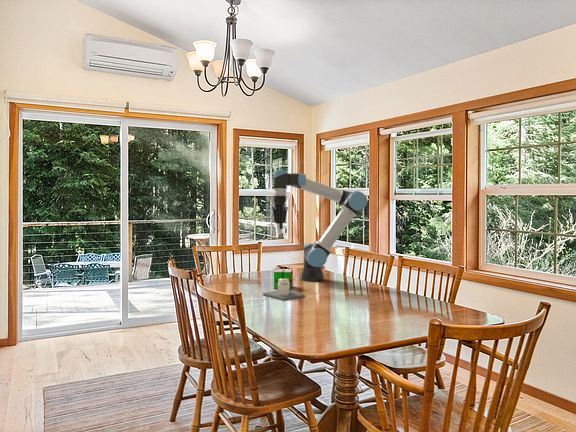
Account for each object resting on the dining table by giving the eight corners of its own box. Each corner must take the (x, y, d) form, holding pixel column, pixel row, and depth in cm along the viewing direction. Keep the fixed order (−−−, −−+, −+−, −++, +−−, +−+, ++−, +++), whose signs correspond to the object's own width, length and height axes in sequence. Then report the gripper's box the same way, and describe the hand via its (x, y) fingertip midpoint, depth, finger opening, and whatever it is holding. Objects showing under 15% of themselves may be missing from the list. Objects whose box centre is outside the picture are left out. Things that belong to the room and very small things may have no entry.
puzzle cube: (292, 286, 272) (292, 269, 272) (291, 289, 262) (291, 272, 262) (276, 285, 273) (276, 269, 273) (273, 289, 263) (274, 271, 263)
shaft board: (284, 291, 256) (284, 280, 256) (304, 296, 243) (304, 285, 243) (262, 295, 246) (262, 283, 246) (283, 300, 233) (283, 288, 233)
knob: (279, 292, 248) (279, 277, 248) (289, 292, 248) (289, 277, 248) (277, 295, 240) (277, 279, 240) (288, 295, 240) (288, 279, 240)
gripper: (268, 195, 281) (268, 233, 282) (282, 195, 271) (281, 235, 272) (277, 195, 286) (277, 233, 286) (291, 195, 276) (291, 234, 277)
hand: (279, 234), depth 279 cm, fingers closed
